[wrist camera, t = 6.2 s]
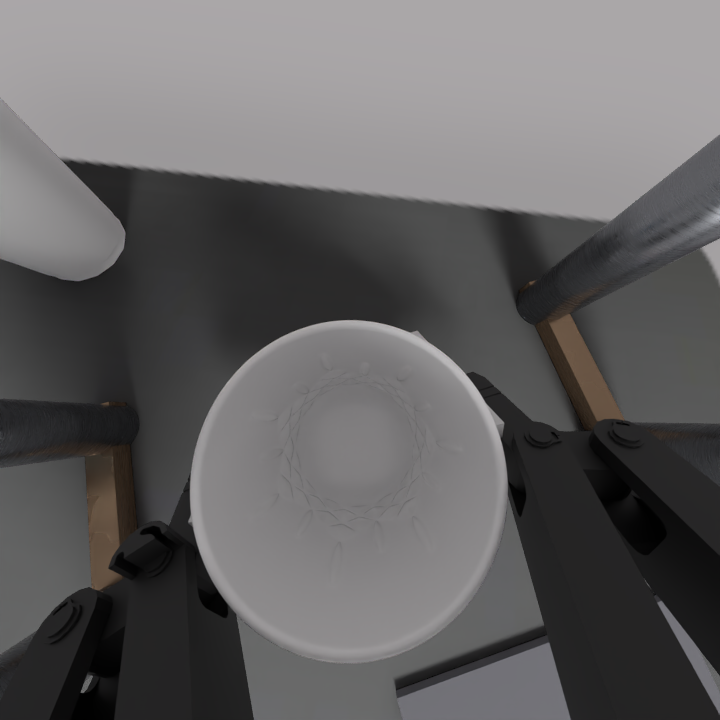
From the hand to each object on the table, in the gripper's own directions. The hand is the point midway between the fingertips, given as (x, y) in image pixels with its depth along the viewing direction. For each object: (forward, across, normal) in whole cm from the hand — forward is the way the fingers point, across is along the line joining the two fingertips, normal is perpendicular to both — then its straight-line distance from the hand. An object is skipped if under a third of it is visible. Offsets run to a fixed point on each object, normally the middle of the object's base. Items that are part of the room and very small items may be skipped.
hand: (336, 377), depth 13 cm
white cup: (0, 0, -5) cm, 5 cm away
